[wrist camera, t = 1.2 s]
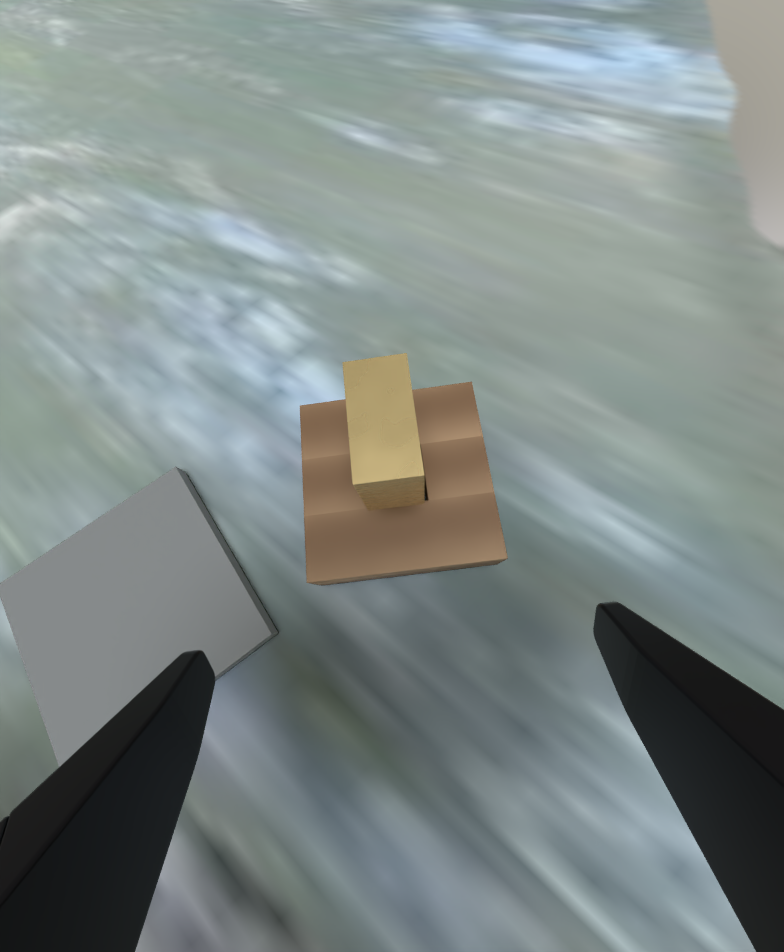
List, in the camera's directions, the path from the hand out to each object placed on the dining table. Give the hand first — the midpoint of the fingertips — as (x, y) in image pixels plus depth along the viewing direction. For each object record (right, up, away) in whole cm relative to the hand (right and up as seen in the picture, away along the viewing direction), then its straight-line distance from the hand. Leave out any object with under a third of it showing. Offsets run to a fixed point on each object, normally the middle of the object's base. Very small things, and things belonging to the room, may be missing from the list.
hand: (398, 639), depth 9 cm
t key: (0, +3, +15) cm, 15 cm away
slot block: (0, +3, +15) cm, 15 cm away
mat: (-15, -4, +14) cm, 21 cm away
